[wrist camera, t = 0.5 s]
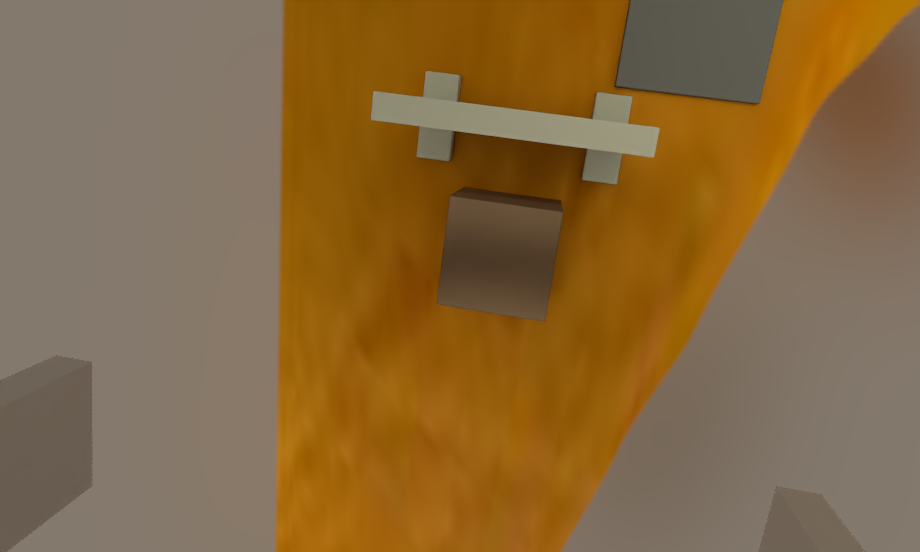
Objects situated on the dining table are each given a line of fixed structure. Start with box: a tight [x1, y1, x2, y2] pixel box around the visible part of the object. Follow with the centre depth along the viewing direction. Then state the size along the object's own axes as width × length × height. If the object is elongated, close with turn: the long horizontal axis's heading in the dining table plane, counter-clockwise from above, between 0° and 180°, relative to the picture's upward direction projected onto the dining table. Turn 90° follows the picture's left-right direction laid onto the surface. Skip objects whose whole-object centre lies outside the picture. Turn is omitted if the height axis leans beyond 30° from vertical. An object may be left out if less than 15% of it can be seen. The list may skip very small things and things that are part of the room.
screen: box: [371, 71, 660, 185], centre depth 32 cm, size 5×12×12 cm, turn 82°
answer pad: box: [615, 0, 783, 104], centre depth 35 cm, size 8×8×1 cm
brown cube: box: [437, 187, 563, 321], centre depth 37 cm, size 6×6×6 cm
